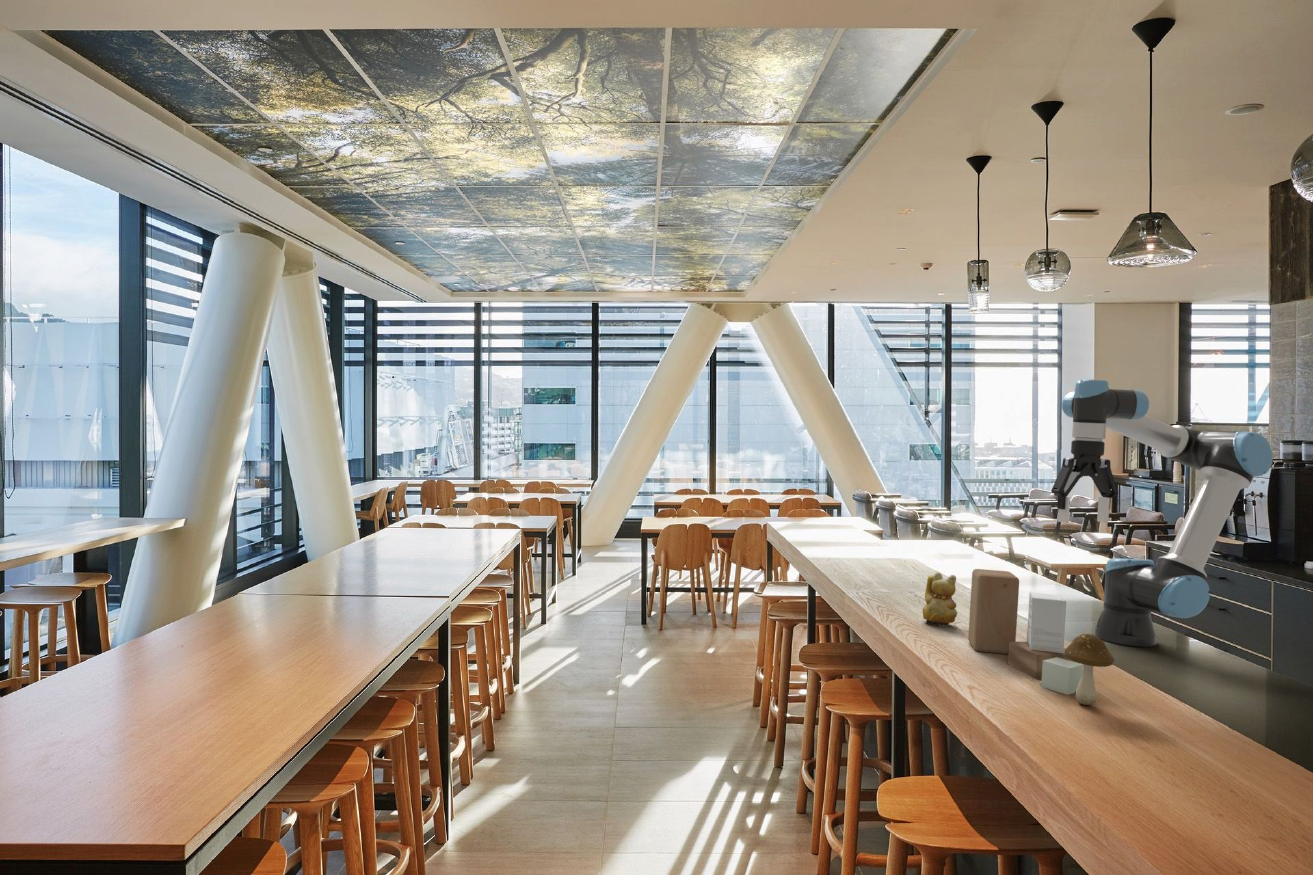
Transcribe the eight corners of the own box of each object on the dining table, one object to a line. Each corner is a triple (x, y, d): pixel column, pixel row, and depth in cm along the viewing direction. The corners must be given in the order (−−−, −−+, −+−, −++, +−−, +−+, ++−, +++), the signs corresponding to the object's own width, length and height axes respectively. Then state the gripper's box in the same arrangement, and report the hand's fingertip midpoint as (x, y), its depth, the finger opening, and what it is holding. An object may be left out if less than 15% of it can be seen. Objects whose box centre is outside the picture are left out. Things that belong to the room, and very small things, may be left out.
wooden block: (1015, 655, 206) (1020, 577, 205) (974, 651, 208) (978, 574, 207) (1006, 645, 215) (1011, 571, 215) (967, 641, 217) (971, 567, 217)
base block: (1049, 665, 200) (1050, 641, 199) (1078, 680, 189) (1080, 654, 188) (1008, 665, 198) (1009, 641, 198) (1035, 680, 187) (1037, 654, 187)
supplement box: (1059, 646, 195) (1062, 594, 195) (1063, 654, 188) (1067, 600, 188) (1025, 642, 198) (1029, 591, 197) (1029, 650, 191) (1032, 596, 190)
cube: (1055, 683, 185) (1056, 657, 185) (1081, 691, 180) (1083, 664, 180) (1041, 687, 181) (1042, 660, 181) (1067, 695, 176) (1069, 668, 176)
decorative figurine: (958, 624, 236) (961, 573, 236) (952, 630, 229) (955, 577, 229) (924, 619, 241) (927, 569, 241) (917, 624, 234) (920, 572, 234)
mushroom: (1066, 711, 166) (1071, 638, 165) (1056, 693, 177) (1061, 625, 176) (1117, 718, 163) (1121, 644, 163) (1103, 700, 174) (1108, 631, 174)
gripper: (1111, 441, 215) (1106, 520, 215) (1039, 437, 206) (1034, 520, 207) (1136, 442, 208) (1131, 524, 208) (1063, 438, 199) (1058, 524, 200)
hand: (1083, 522), depth 208 cm, fingers open, 13 cm apart
